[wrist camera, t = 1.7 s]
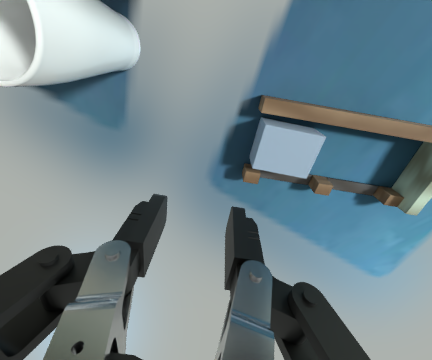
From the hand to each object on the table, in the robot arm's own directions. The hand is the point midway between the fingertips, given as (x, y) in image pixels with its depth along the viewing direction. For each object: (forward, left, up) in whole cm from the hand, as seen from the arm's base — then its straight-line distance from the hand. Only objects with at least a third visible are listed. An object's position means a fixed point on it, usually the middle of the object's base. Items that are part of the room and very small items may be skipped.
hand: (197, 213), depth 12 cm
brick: (0, +9, -17) cm, 20 cm away
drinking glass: (-8, -12, -17) cm, 23 cm away
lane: (0, +16, -17) cm, 23 cm away
